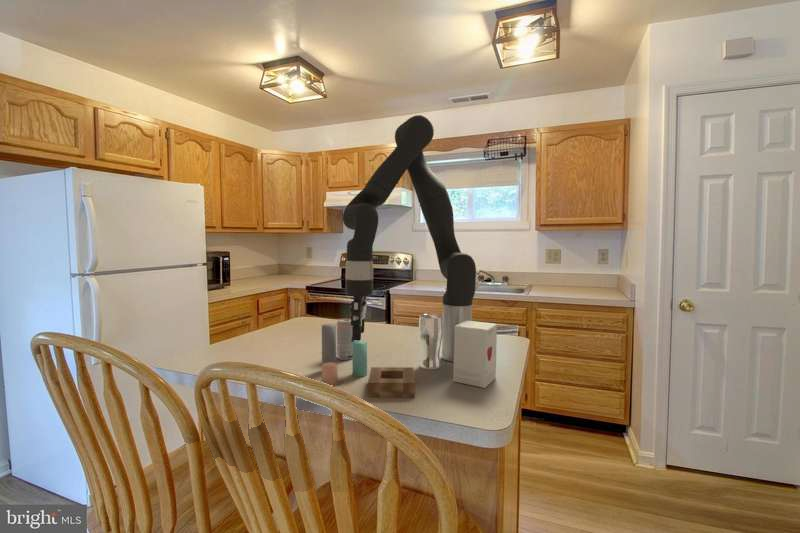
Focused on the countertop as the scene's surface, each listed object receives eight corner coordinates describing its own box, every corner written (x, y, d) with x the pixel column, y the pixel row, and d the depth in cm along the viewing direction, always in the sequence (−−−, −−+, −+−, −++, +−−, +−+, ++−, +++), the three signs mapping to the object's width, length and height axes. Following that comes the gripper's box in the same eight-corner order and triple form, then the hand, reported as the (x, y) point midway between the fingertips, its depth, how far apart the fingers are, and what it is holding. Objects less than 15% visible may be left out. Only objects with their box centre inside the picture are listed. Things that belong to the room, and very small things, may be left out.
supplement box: (485, 389, 95) (486, 329, 94) (452, 382, 99) (453, 325, 98) (496, 378, 102) (498, 323, 101) (465, 372, 107) (466, 319, 106)
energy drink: (355, 355, 122) (355, 318, 121) (352, 360, 117) (352, 322, 116) (339, 355, 122) (339, 318, 122) (335, 360, 117) (334, 321, 116)
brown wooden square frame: (413, 380, 100) (413, 367, 100) (414, 397, 89) (414, 382, 89) (371, 380, 100) (371, 367, 100) (368, 397, 89) (367, 382, 89)
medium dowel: (367, 371, 107) (367, 340, 106) (366, 377, 103) (366, 344, 102) (353, 371, 107) (353, 340, 106) (351, 376, 103) (351, 344, 102)
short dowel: (338, 381, 100) (338, 362, 99) (336, 386, 96) (336, 367, 95) (323, 381, 100) (323, 362, 99) (320, 386, 96) (320, 367, 95)
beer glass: (444, 364, 114) (445, 314, 113) (439, 371, 107) (439, 319, 106) (422, 361, 116) (422, 313, 115) (415, 368, 110) (415, 317, 109)
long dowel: (337, 368, 110) (337, 323, 109) (335, 373, 106) (334, 326, 105) (323, 368, 110) (323, 323, 109) (320, 373, 106) (320, 326, 105)
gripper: (370, 280, 96) (369, 343, 97) (375, 275, 110) (374, 330, 111) (341, 279, 96) (340, 342, 97) (349, 275, 110) (348, 330, 111)
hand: (358, 336), depth 104 cm, fingers open, 8 cm apart
